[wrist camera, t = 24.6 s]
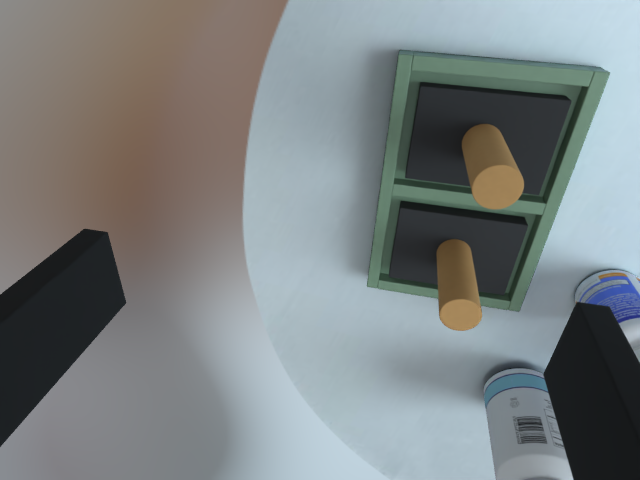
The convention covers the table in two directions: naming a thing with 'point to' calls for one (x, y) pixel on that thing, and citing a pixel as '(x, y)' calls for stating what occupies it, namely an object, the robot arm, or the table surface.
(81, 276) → the robot arm
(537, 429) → the beverage can
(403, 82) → the pad holder
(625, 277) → the pill bottle
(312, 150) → the table surface
